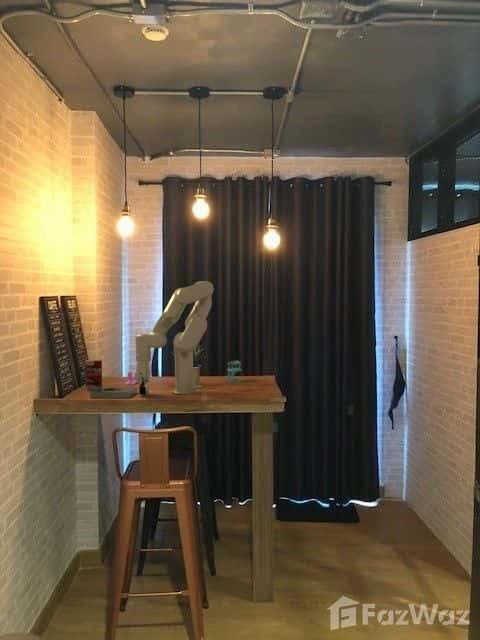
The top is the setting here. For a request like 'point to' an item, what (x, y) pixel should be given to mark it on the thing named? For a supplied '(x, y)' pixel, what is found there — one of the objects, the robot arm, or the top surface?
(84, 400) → the top surface
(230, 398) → the top surface
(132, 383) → the pink notched block
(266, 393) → the top surface
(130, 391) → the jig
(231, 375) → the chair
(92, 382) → the supplement box
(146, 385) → the bushing
